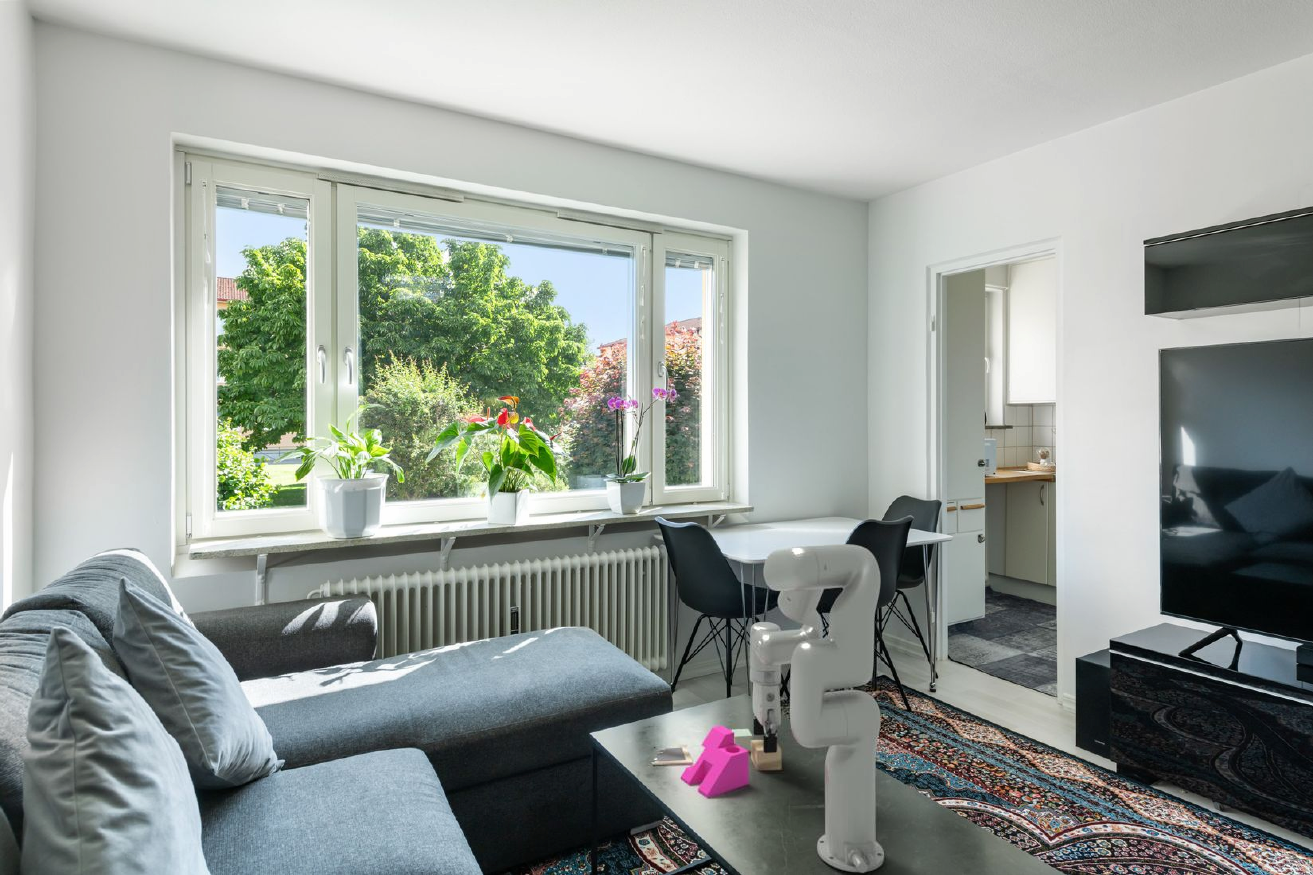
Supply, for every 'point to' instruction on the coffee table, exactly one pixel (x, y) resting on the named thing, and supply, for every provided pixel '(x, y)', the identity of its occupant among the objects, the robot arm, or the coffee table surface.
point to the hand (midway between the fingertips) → (764, 743)
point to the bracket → (719, 764)
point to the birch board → (674, 756)
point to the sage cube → (742, 738)
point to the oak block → (765, 757)
